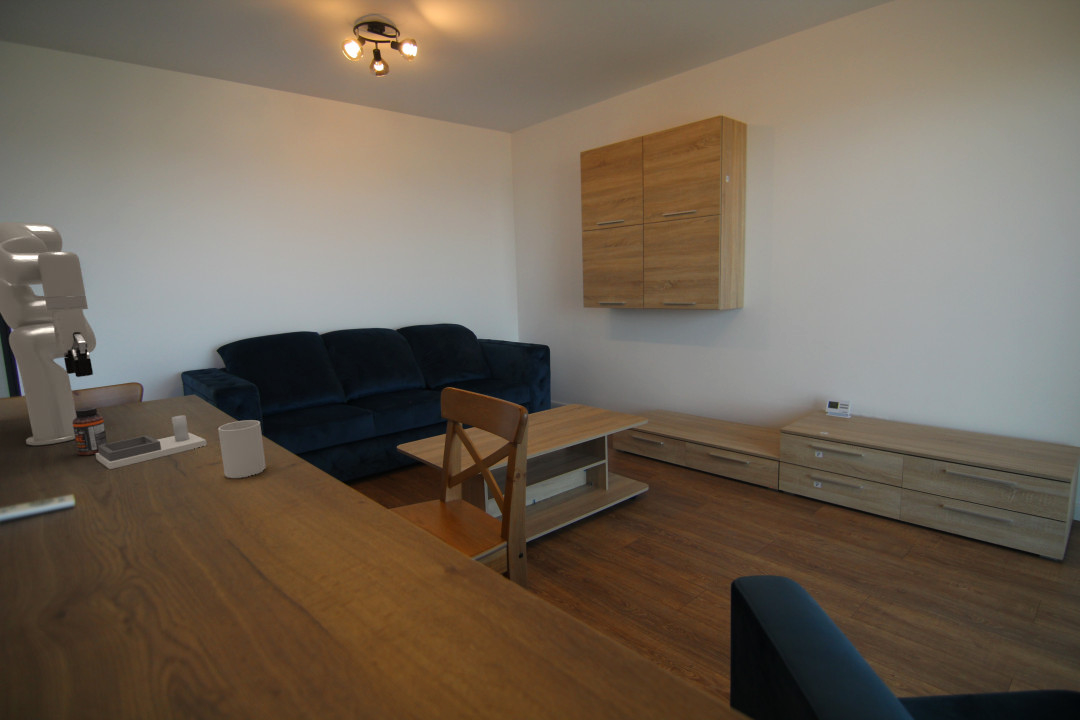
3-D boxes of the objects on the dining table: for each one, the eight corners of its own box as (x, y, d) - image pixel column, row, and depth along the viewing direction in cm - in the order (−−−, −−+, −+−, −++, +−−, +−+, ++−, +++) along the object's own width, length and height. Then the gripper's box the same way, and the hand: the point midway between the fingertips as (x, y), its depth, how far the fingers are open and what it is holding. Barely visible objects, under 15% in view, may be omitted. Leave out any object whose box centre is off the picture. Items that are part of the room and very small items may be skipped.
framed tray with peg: (96, 459, 132) (91, 429, 130) (189, 437, 147) (185, 410, 145) (109, 469, 124) (104, 437, 123) (206, 445, 139) (202, 417, 138)
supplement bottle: (72, 455, 135) (63, 411, 134) (97, 447, 141) (89, 405, 139) (89, 456, 134) (81, 412, 132) (114, 449, 139) (106, 405, 138)
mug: (271, 470, 119) (266, 423, 117) (232, 481, 113) (225, 432, 111) (250, 459, 127) (244, 415, 125) (212, 469, 121) (206, 423, 120)
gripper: (39, 305, 134) (52, 374, 137) (53, 305, 123) (67, 380, 126) (78, 303, 140) (90, 369, 142) (95, 302, 129) (108, 374, 131)
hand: (79, 374), depth 134 cm, fingers open, 9 cm apart
